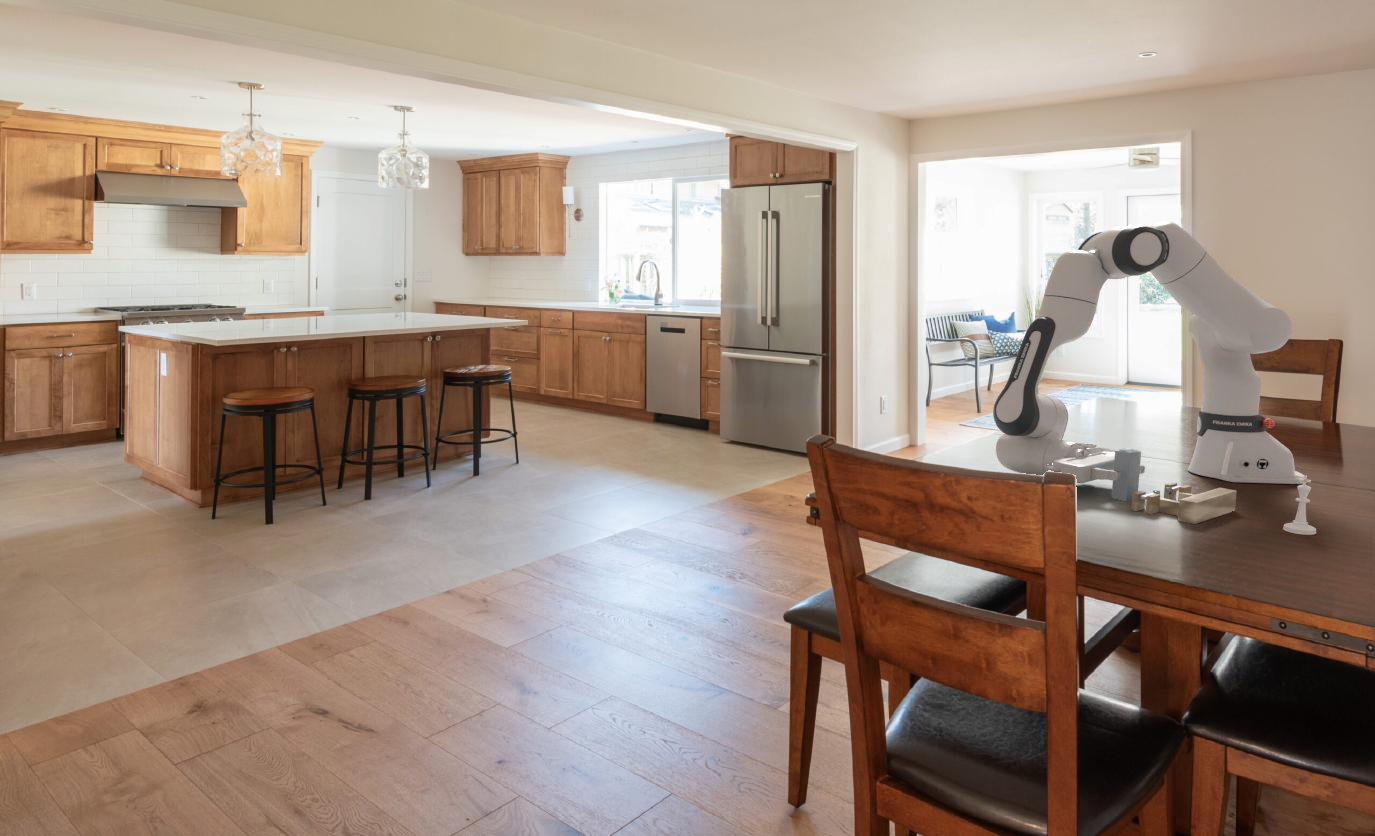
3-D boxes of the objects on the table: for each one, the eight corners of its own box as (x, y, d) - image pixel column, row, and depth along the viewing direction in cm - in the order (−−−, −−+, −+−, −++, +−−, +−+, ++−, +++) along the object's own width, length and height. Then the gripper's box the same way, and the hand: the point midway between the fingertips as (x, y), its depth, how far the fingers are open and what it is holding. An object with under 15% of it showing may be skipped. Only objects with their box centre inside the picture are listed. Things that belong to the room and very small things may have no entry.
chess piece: (1282, 525, 160) (1288, 471, 158) (1316, 529, 157) (1322, 475, 155) (1282, 532, 156) (1288, 476, 154) (1316, 536, 153) (1323, 480, 151)
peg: (1111, 498, 179) (1115, 450, 178) (1121, 495, 182) (1125, 448, 180) (1130, 502, 176) (1134, 453, 174) (1141, 499, 178) (1145, 451, 177)
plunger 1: (1139, 500, 169) (1140, 494, 169) (1154, 496, 172) (1155, 490, 172) (1145, 501, 168) (1146, 495, 168) (1160, 497, 171) (1161, 491, 171)
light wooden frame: (1130, 510, 170) (1131, 490, 169) (1171, 498, 179) (1173, 479, 179) (1194, 524, 161) (1196, 502, 160) (1234, 510, 170) (1236, 490, 169)
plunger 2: (1163, 493, 174) (1164, 487, 174) (1177, 489, 177) (1178, 483, 177) (1169, 494, 173) (1170, 488, 173) (1183, 490, 177) (1184, 484, 176)
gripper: (1039, 453, 182) (1103, 464, 171) (1094, 442, 194) (1157, 452, 183) (1038, 482, 183) (1101, 495, 172) (1092, 470, 195) (1155, 481, 184)
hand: (1130, 473), depth 178 cm, fingers open, 8 cm apart
